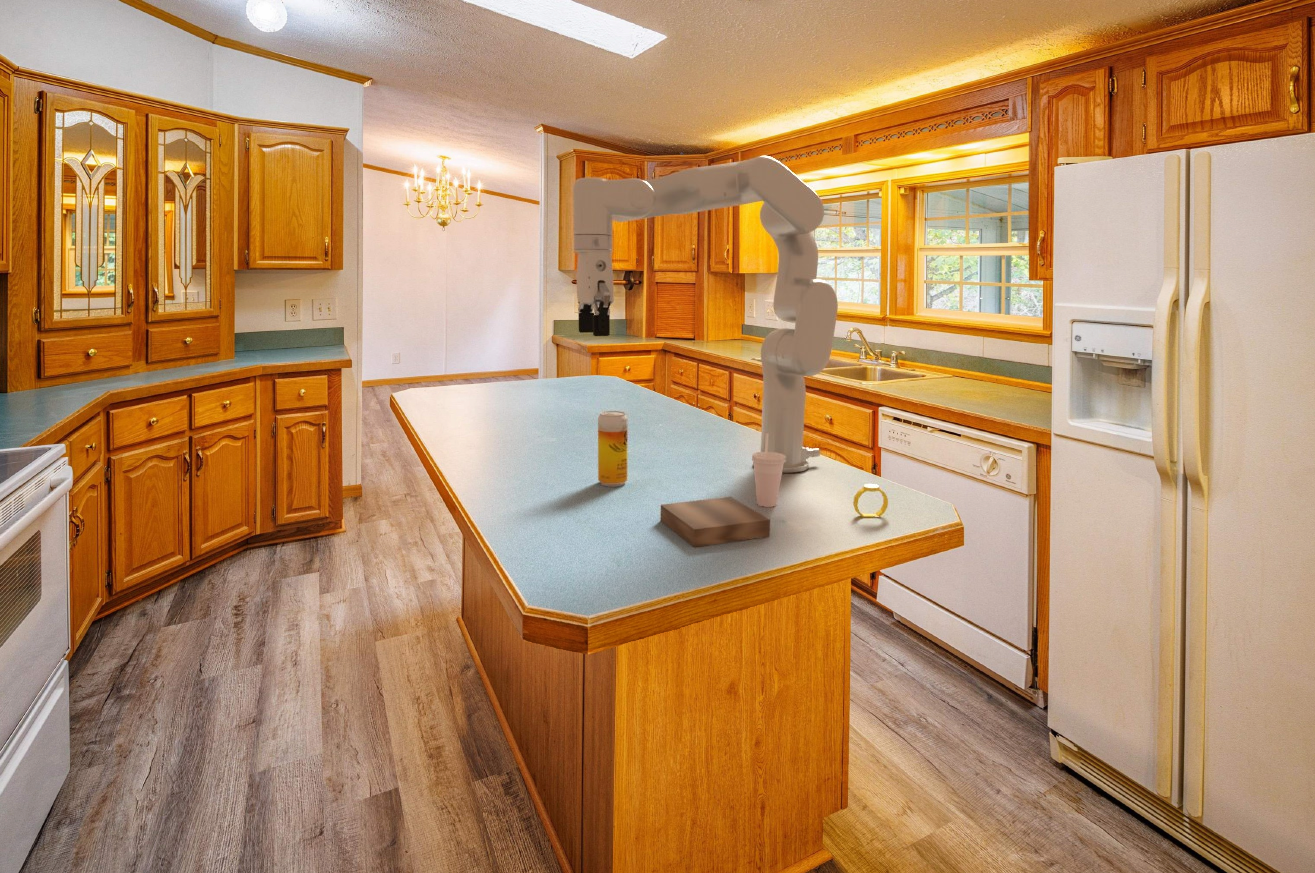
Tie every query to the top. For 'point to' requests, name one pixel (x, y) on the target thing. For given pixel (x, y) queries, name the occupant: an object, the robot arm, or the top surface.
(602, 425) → the beer can
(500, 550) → the top surface
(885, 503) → the watch
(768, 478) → the smoothie
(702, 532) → the walnut base
